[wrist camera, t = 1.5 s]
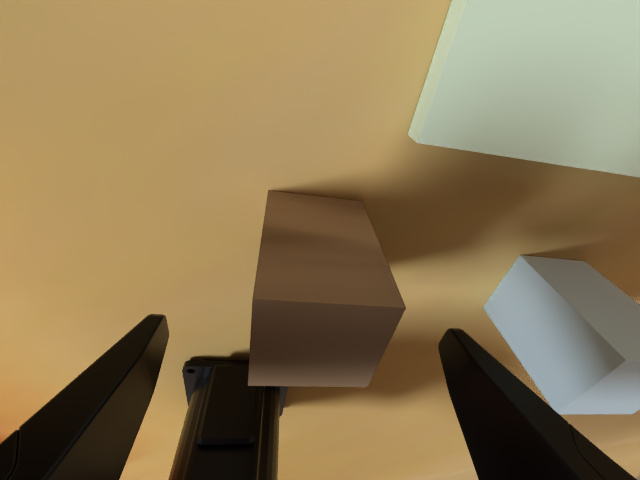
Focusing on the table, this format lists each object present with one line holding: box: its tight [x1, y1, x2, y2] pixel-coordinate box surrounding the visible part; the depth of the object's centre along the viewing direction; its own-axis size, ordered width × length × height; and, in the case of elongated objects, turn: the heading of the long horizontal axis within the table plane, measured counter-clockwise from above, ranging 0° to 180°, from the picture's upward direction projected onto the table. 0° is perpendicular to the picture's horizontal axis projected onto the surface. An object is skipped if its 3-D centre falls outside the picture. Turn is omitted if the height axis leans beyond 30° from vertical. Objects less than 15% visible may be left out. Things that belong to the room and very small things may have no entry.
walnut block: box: [248, 190, 406, 387], centre depth 11 cm, size 4×4×6 cm
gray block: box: [483, 255, 640, 414], centre depth 14 cm, size 4×4×6 cm
